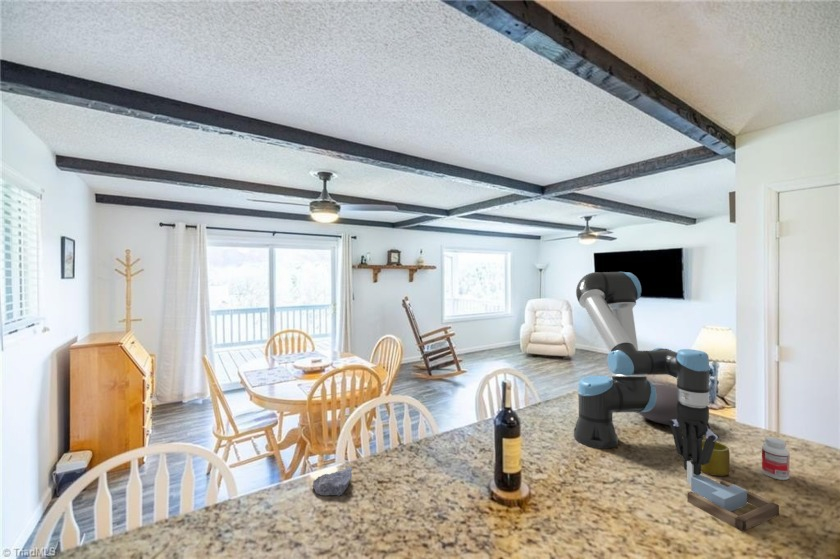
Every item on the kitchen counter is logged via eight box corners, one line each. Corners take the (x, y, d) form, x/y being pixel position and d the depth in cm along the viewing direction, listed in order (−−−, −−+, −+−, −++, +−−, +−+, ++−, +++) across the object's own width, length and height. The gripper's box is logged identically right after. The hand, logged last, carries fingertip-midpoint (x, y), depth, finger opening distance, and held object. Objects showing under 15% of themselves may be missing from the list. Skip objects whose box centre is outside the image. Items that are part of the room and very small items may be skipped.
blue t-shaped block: (684, 493, 105) (684, 479, 105) (706, 485, 109) (706, 471, 108) (724, 514, 96) (724, 499, 95) (747, 504, 99) (747, 490, 99)
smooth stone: (640, 406, 172) (640, 374, 172) (706, 421, 154) (706, 386, 154) (621, 421, 156) (621, 386, 156) (693, 440, 137) (693, 400, 137)
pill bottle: (769, 468, 117) (769, 434, 117) (794, 478, 112) (794, 442, 111) (757, 472, 115) (757, 437, 115) (781, 482, 110) (782, 445, 109)
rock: (351, 462, 116) (352, 476, 106) (352, 480, 115) (354, 495, 105) (312, 469, 113) (310, 484, 103) (313, 488, 112) (311, 504, 103)
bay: (687, 501, 101) (687, 492, 101) (723, 488, 107) (723, 479, 107) (742, 531, 89) (742, 521, 89) (779, 514, 95) (779, 505, 95)
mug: (746, 475, 110) (730, 441, 112) (709, 483, 112) (694, 449, 114) (724, 463, 121) (710, 432, 124) (691, 470, 123) (678, 439, 126)
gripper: (662, 398, 111) (661, 474, 112) (709, 413, 99) (708, 499, 100) (678, 395, 114) (678, 469, 115) (726, 409, 102) (725, 492, 103)
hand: (692, 483), depth 107 cm, fingers closed
